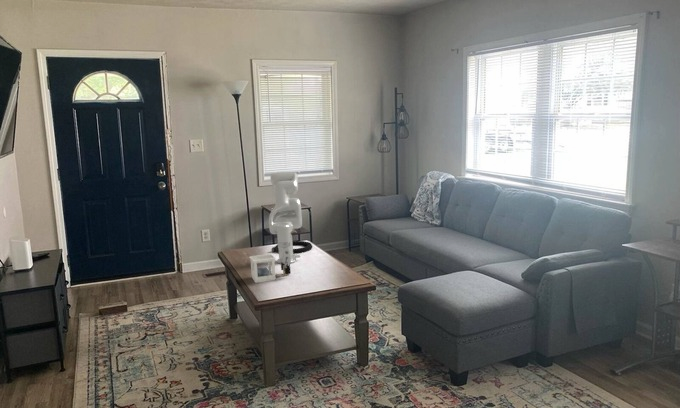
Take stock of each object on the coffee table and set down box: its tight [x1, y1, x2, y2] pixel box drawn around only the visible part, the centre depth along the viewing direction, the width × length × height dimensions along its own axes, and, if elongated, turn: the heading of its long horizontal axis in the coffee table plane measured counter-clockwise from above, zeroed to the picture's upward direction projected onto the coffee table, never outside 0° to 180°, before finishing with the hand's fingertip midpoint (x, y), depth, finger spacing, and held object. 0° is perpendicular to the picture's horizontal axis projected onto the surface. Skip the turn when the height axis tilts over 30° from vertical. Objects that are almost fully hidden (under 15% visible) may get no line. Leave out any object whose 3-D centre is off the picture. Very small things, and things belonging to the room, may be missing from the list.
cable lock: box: [271, 240, 313, 255], centre depth 381 cm, size 28×4×30 cm
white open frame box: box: [249, 253, 277, 284], centre depth 313 cm, size 13×13×13 cm
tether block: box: [257, 265, 290, 278], centre depth 316 cm, size 19×6×6 cm, turn 110°
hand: (285, 271), depth 319 cm, fingers open, 9 cm apart
